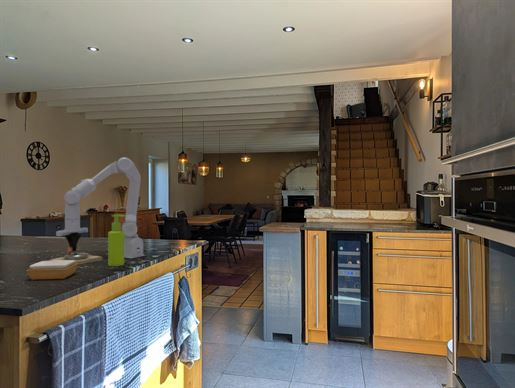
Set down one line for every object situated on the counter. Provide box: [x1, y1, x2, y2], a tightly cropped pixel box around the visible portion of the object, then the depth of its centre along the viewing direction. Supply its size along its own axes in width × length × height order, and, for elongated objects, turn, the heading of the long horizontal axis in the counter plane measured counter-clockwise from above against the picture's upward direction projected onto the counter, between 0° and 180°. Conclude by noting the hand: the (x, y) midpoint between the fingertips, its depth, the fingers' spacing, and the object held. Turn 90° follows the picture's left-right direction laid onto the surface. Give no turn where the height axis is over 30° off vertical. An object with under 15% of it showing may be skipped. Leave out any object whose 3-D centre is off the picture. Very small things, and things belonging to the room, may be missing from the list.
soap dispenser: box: [107, 213, 126, 267], centre depth 138 cm, size 6×7×20 cm
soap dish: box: [25, 260, 79, 281], centre depth 118 cm, size 12×10×5 cm
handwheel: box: [63, 246, 90, 259], centre depth 145 cm, size 9×9×4 cm
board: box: [49, 254, 103, 265], centre depth 145 cm, size 14×14×1 cm
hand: (72, 251), depth 147 cm, fingers closed, pressing on handwheel
